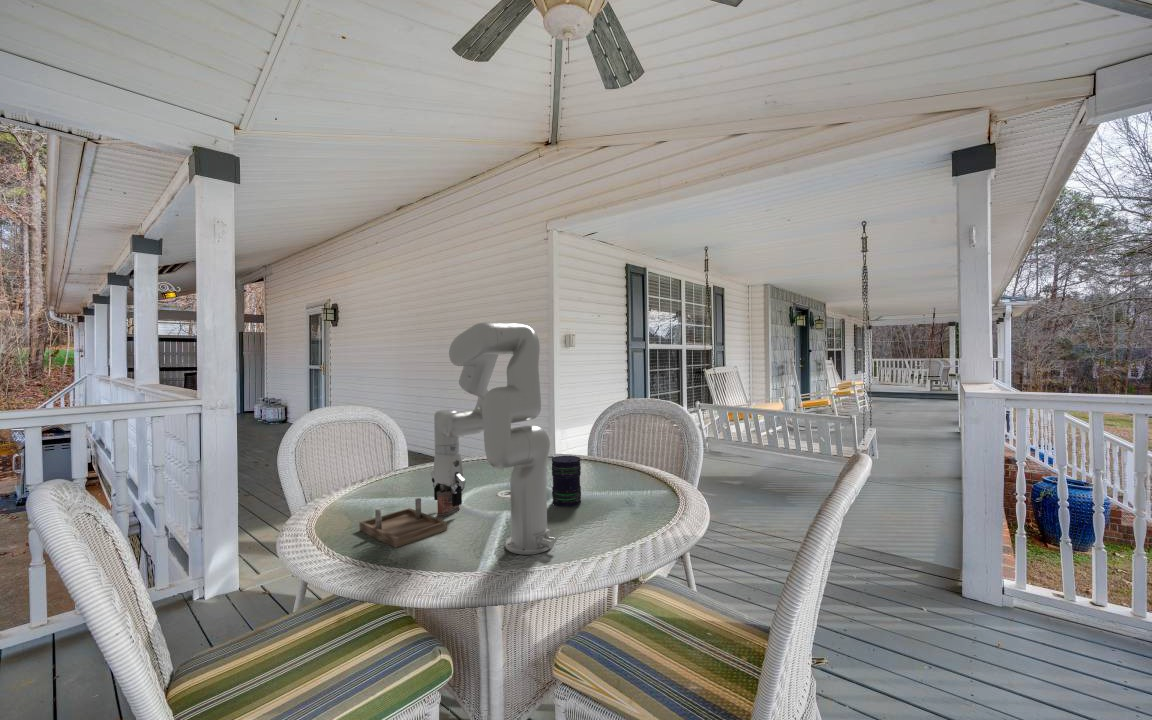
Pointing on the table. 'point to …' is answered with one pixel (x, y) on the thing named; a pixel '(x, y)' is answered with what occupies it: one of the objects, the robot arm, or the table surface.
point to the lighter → (445, 501)
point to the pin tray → (402, 526)
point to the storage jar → (566, 481)
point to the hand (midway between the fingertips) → (447, 502)
